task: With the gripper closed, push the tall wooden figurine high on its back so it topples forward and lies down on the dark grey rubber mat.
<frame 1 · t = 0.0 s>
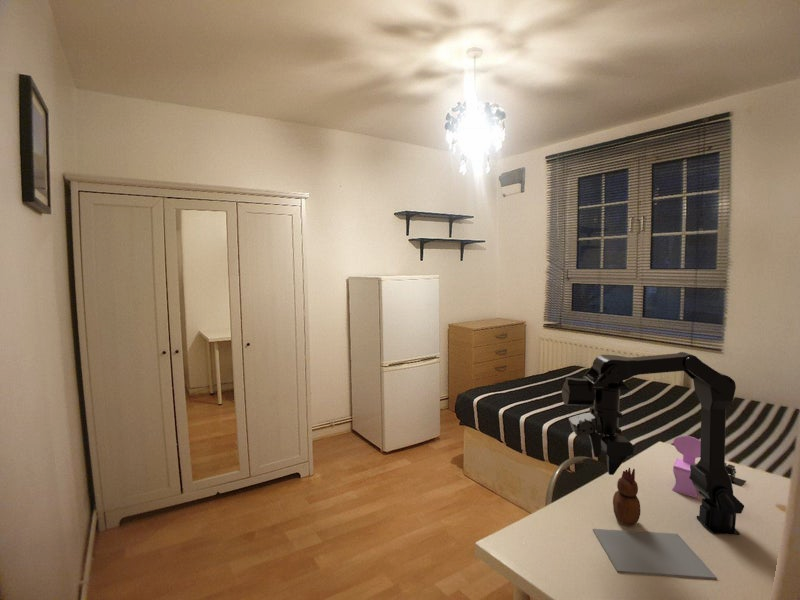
hand: (603, 465, 104), 15 cm above the table, fingers open, 9 cm apart
mat: (649, 552, 93), on the table
build plate: (725, 479, 127), on the table
wooden figurine: (625, 522, 105), on the table
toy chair: (686, 489, 120), on the table
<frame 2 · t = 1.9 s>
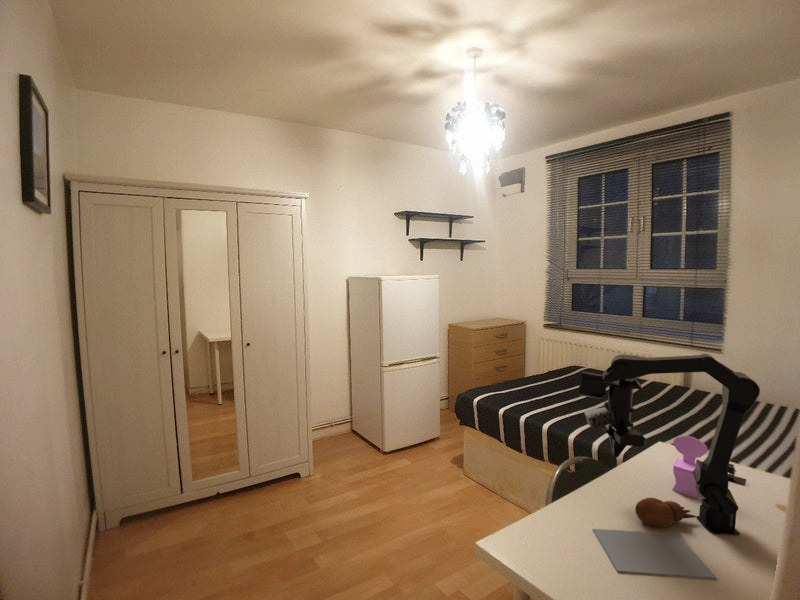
hand: (615, 456, 113), 13 cm above the table, fingers closed
wooden figurine: (640, 513, 103), point 3 cm above the table
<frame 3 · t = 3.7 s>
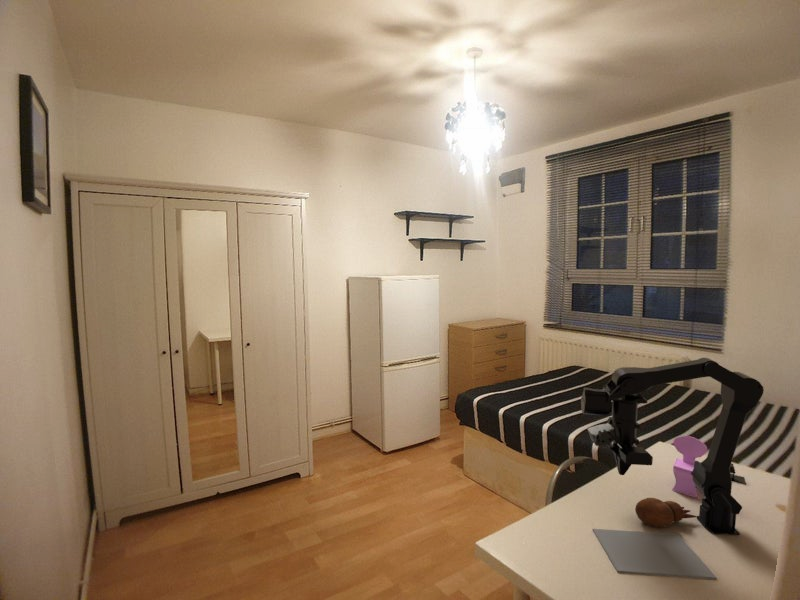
hand: (621, 474, 108), 10 cm above the table, fingers closed
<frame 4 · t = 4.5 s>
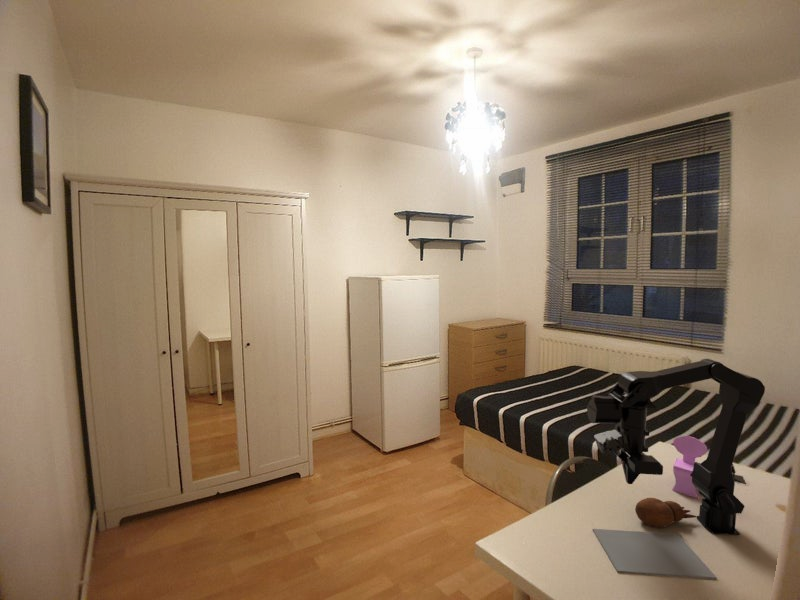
hand: (629, 483, 103), 10 cm above the table, fingers closed
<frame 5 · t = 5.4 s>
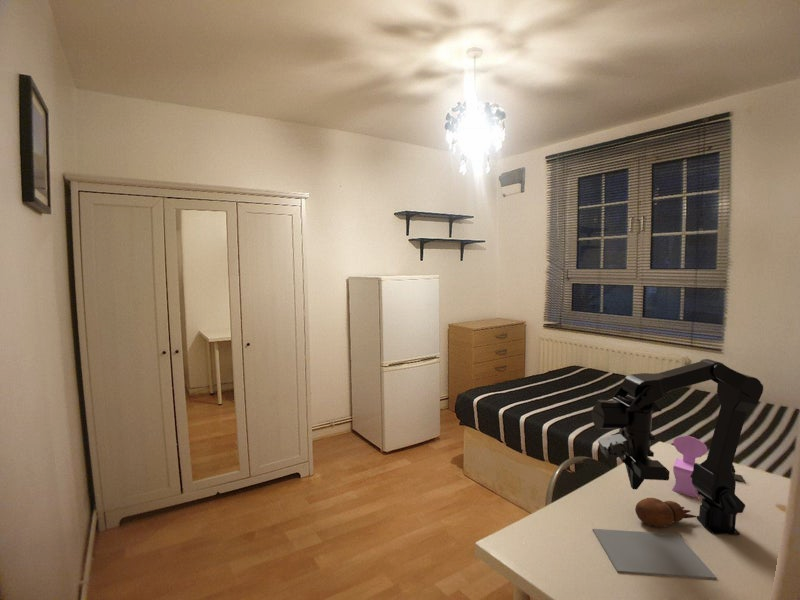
hand: (634, 488, 101), 10 cm above the table, fingers closed
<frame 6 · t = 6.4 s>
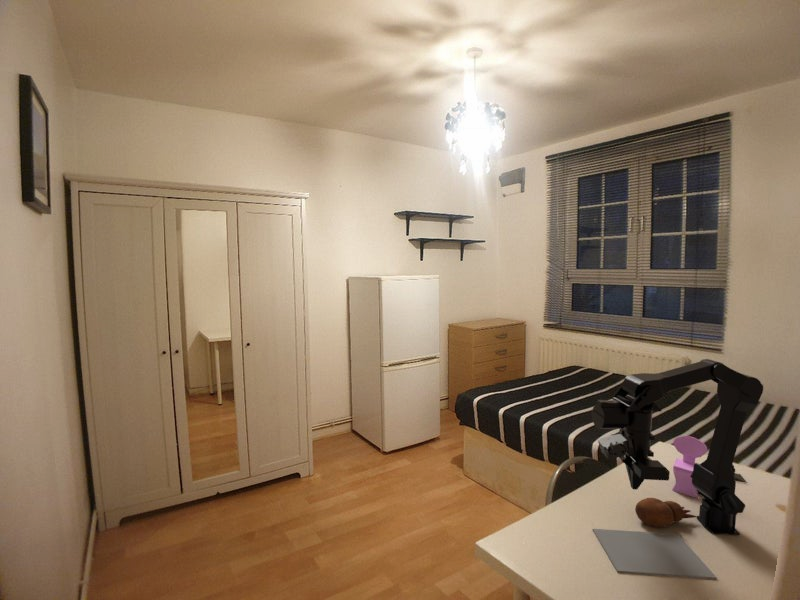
hand: (634, 488, 101), 10 cm above the table, fingers closed
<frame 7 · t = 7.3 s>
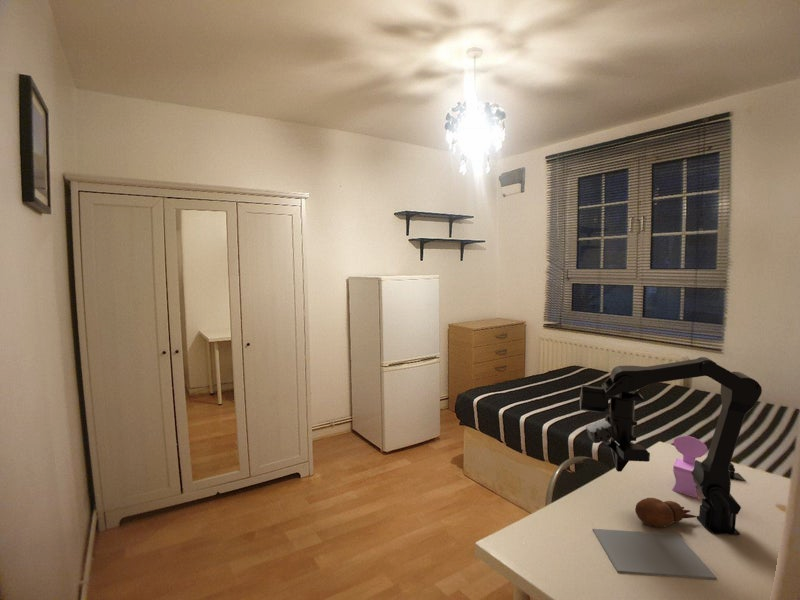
hand: (618, 470, 110), 11 cm above the table, fingers closed
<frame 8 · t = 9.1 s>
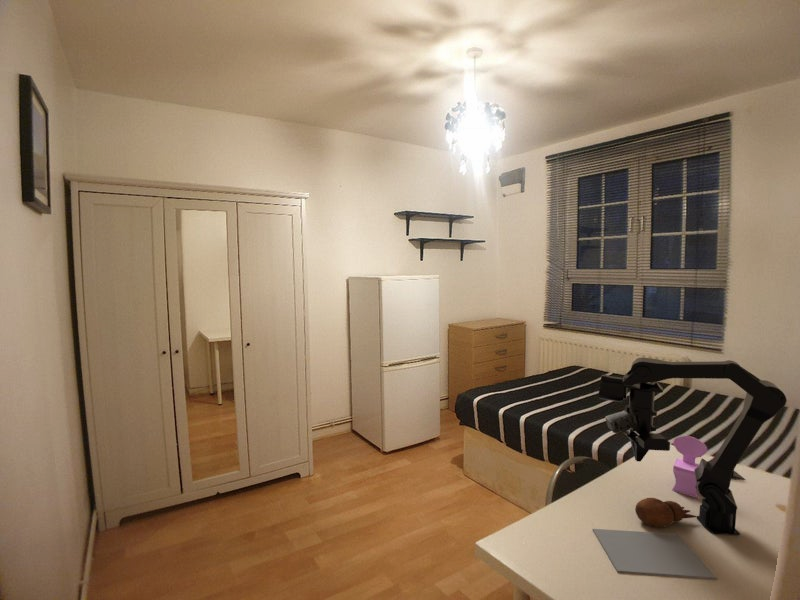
hand: (637, 460, 111), 13 cm above the table, fingers closed
at the end: wooden figurine tilted 93°; wooden figurine inside the target area (7.7 cm from its centre), point 3.1 cm above the table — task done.
